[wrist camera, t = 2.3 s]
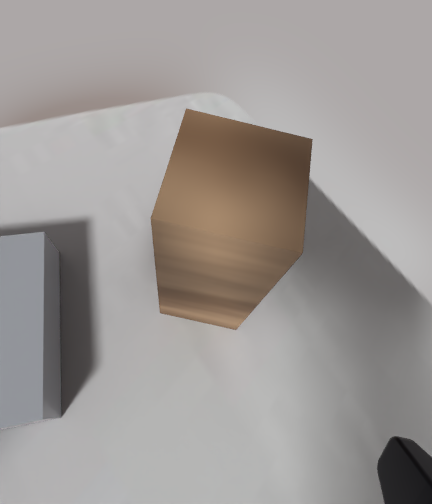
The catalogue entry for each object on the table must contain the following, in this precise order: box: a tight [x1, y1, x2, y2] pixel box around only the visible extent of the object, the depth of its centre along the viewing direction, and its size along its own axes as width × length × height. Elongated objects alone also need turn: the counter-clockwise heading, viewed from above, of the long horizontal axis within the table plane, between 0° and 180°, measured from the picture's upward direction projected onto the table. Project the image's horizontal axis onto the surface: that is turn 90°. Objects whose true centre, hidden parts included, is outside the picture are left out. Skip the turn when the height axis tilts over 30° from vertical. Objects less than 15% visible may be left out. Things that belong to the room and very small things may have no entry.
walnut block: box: [151, 109, 312, 330], centre depth 17 cm, size 5×5×12 cm
